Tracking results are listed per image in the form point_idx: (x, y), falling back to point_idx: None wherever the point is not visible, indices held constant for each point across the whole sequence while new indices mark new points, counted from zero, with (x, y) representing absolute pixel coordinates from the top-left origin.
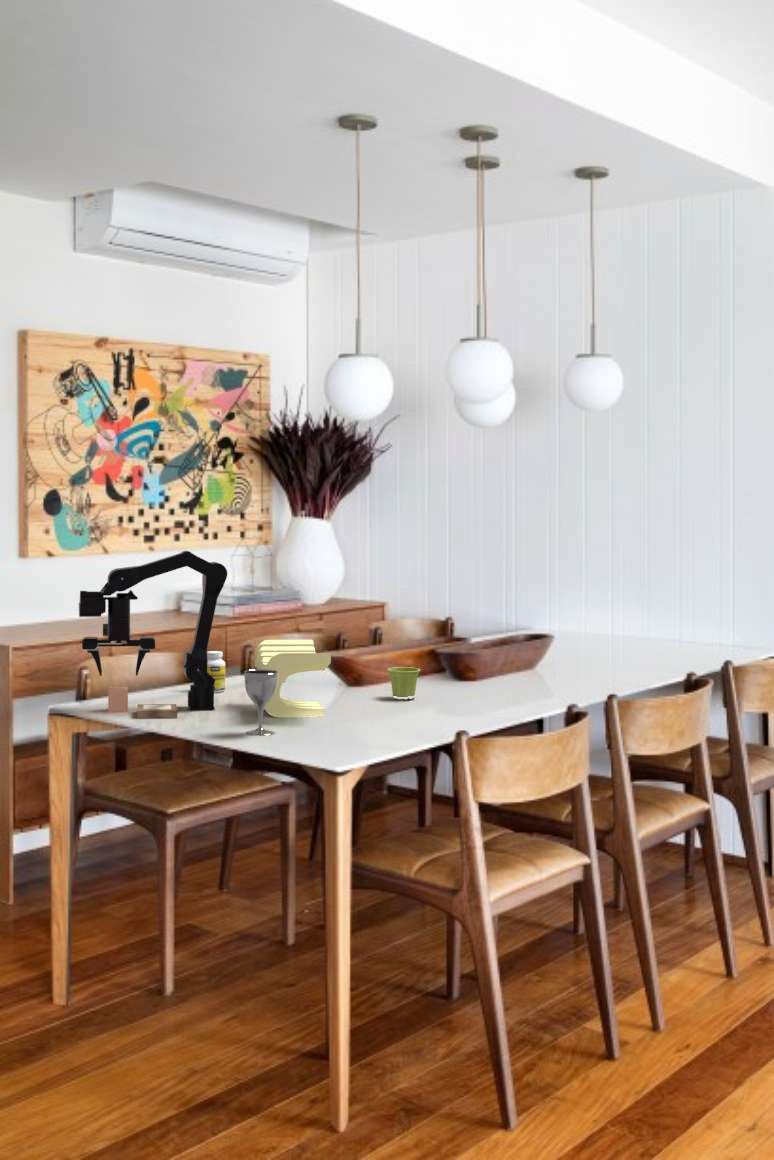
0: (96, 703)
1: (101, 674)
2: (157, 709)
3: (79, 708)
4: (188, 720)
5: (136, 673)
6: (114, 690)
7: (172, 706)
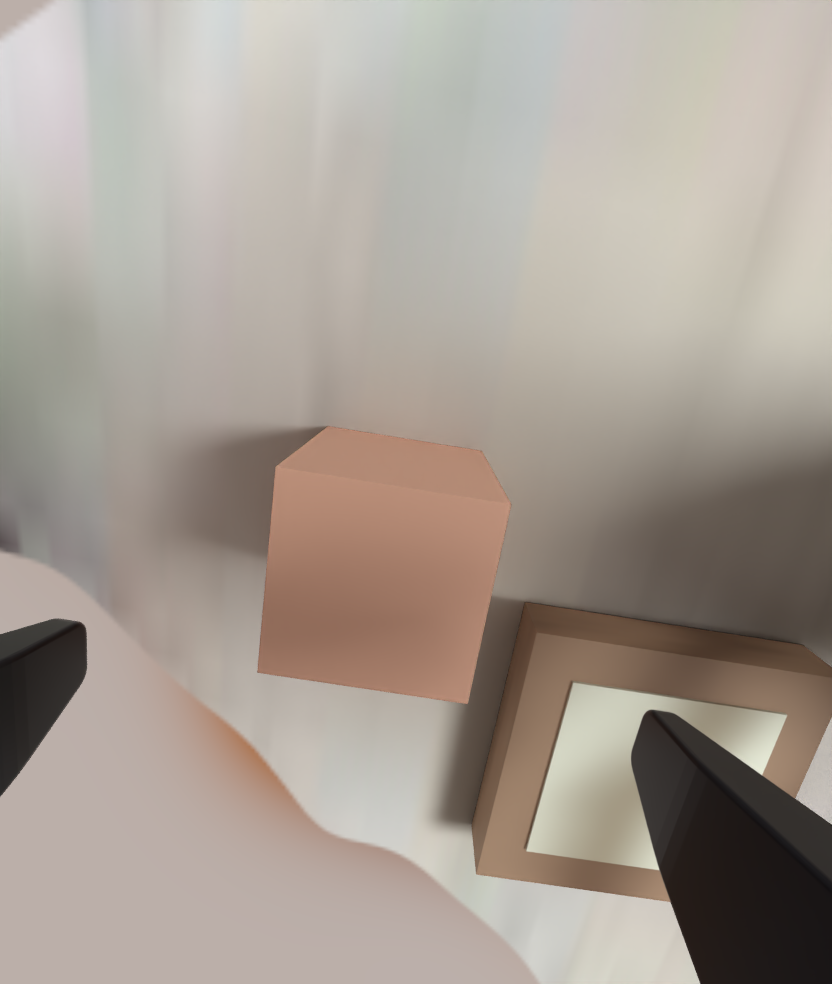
0: (242, 47)
1: (68, 699)
2: (623, 862)
3: (90, 331)
4: None
5: (649, 803)
6: (325, 676)
7: (773, 775)
